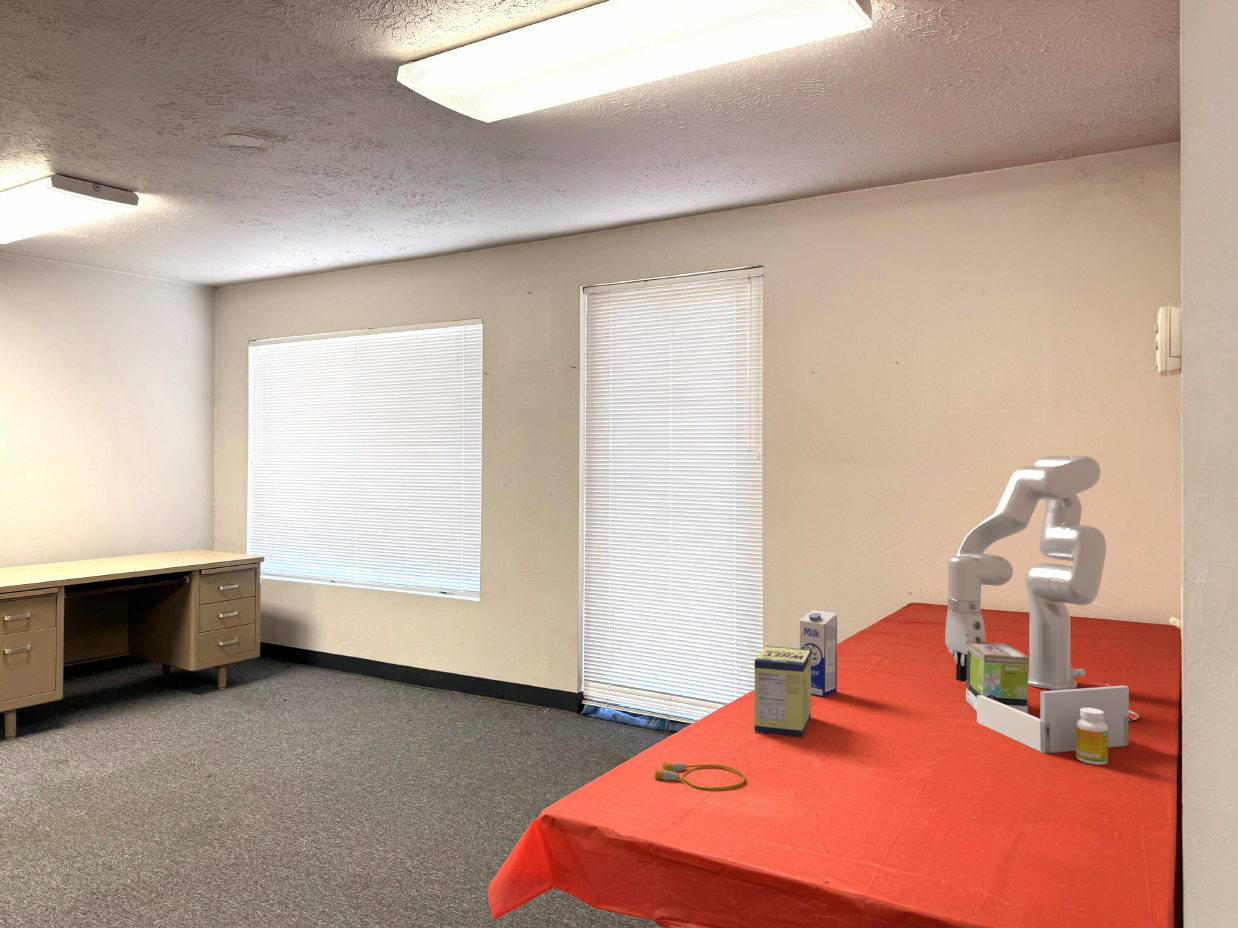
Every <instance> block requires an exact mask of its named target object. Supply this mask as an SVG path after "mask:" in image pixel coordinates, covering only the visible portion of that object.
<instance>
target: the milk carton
mask: <svg viewBox="0 0 1238 928" xmlns="http://www.w3.org/2000/svg"><path fill="white" fill-rule="evenodd" d="M798 621H799V649H810V650H811V696H816V695H817V697H821V698H825V697H827V695H828V696H830V695H833V694H835V693H837V691H838V686H837V685H838V613H836V612H830V611H821V610H815V609H813V610H811V611H809V612H807V613H806V615H804V616H803V617H802V618H800V619H799V620H798ZM832 693H833V694H832Z"/></svg>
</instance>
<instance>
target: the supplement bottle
mask: <svg viewBox="0 0 1238 928" xmlns="http://www.w3.org/2000/svg"><path fill="white" fill-rule="evenodd" d="M1080 716H1081V717H1082V719H1079V720H1078V721H1077V722H1076V751H1075V757H1076V759H1077V760H1079V761H1080V762H1083V763H1085V764H1090V765H1097V766H1099V765H1100V766H1101V765H1102V766H1103V765H1106V764H1107V763H1108V762H1109V747H1108V726H1107V724H1106V723H1104V722H1103V720H1104V712H1103V711H1101V710H1098V709H1094V708H1081V709H1080Z"/></svg>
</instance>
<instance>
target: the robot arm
mask: <svg viewBox="0 0 1238 928" xmlns="http://www.w3.org/2000/svg"><path fill="white" fill-rule="evenodd" d="M1100 477H1101V467H1100V464H1099V463H1098V462H1097V460H1096V459H1094V458H1093V457H1091V456H1088V455H1046V456H1041V457H1039V458H1036V459H1035V460H1034V461H1033V462H1032V465H1028V466H1021V467H1018V468H1016V469H1014V470H1013V471H1012V472H1011V474H1010V475H1009V478H1008V480H1007V482H1006V484H1005V486H1004V488H1003V491H1002V493H1001V495H1000V496H999V499H998V502H997V504H996V506H995V508H994V510H993V512H992V513H991V514H990V516H988V517H986V518H985V519H984V520H982V521H981V522H980V523H979V524H977V525H976V526H975V527H974V528H972V530H971V531H969V532H968V533H967V535H966V536H965V537H964V539H962V542H961V544H960V547H958V551H957V553H956V555H954V556H951V557H950V558H949V559H948V562H947V564H948V565H947V567H948V568H947V614H946V620H945V630H944V636H945V638H944V640H945V641H944V643H945V646H946V647H947V648H948V649H947V650H948V652H949V653H950V654H951V655H953V659H954V660H953V661H954V663H955V679H956V681H959V682H960V683H963V682H965V683H966V671H967V654H968V646H969V643H975V642H980V643H987V642H986V628H985V621H984V617H983V614H981V613H982V605H981V604H982V586H984V585H985V586H994V587H998V586H999V587H1000V586H1003V585H1005V584H1007V583H1009V581H1010V580H1011V579H1012V577H1013V574H1014V568H1013V565H1012V564H1011V562H1010V561H1009V560H1008V559H1007V558H1005V557H1003V556H999V555H996V554H987V553H985V552H986V551H987V549H988V548H989V547H990V546H991V545H993V544H994V543H996V542H997V541H999V540H1002V539H1005V538H1007V537H1010V536H1013V535H1015V534H1018V533H1021V532H1022V531H1024V530H1026V529H1027V528H1028V525H1029V523H1030V520H1031V519H1032V516H1033V514H1034V512H1035V510H1036V507H1037V505H1038V504H1039V502H1040V500H1044V501H1045V509H1044V516H1043V521H1042V526H1041V531H1040V535H1039V543H1038V544H1039V545H1038V546H1039V547H1038V548H1039V551H1040V553H1041V554H1042V555H1043V556H1044V557H1046V558H1048V559H1052V560H1053V559H1054V560H1058V561H1059V560H1060V561H1066V562H1067V561H1068V562H1072V566H1070V565H1065V564H1057V563H1050V562H1049V563H1046V562H1043V563H1037V564H1034V565H1032V566H1031V567H1030V568H1029V569H1028V570H1027V572H1026V573H1025V578H1024V579H1025V580H1024V581H1025V587H1026V594H1027V598H1028V605H1029V642H1028V644H1029V649H1028V650H1029V653H1028V654H1029V656H1028V659H1029V660H1028V663H1029V668H1028V686H1030V687H1031V686H1032V687H1034V688H1040V689H1046V690H1069V689H1077V687H1078V683H1077V681H1075V680H1074V679H1075V678H1076V677H1077V678H1078V677H1085V675H1086V670H1085V669H1083V668H1076V669H1074V668H1073V667H1071V622H1072V621H1071V616H1070V613H1069V609H1068V608H1067V606H1066V604H1070V605H1076V606H1087V605H1090V604H1092V603H1093V602H1094V601H1095V600H1096V599H1097V597H1098V594H1099V592H1100V587H1101V582H1102V576H1103V572H1104V567H1105V561H1106V555H1107V543H1106V538H1105V536H1104V534H1103V532H1102V531H1101V530H1099V529H1098V528H1097V527H1094V526H1092V525H1084V524H1081V520H1082V519H1081V518H1082V512H1083V508H1082V502H1081V499H1080V497H1079V496H1078V494H1080V493H1083V492H1086V491H1088V490H1089V489H1092V488H1093V487H1094V486H1095V485H1096V484H1097V483H1098V482H1099V480H1100Z"/></svg>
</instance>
